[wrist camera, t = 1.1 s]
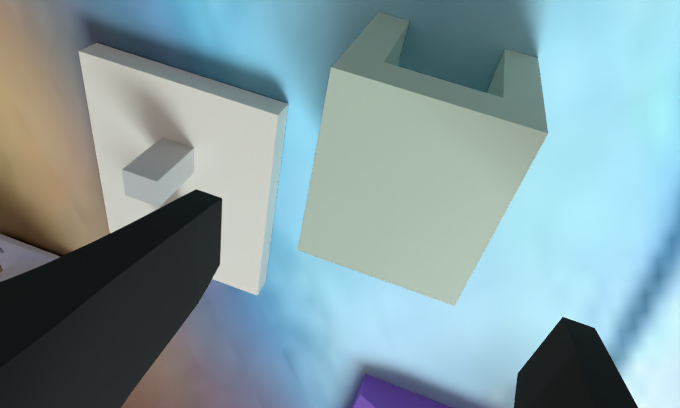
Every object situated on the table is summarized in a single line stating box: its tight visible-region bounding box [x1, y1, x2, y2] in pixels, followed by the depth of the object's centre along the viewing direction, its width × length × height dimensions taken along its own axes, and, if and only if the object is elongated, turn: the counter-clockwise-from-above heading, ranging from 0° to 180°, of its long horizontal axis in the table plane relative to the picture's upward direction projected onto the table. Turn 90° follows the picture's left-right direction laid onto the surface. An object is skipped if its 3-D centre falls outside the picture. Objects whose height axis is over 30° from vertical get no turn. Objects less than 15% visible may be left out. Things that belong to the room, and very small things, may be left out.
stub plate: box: [79, 43, 289, 295], centre depth 19 cm, size 10×8×4 cm
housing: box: [298, 12, 548, 306], centre depth 14 cm, size 6×5×5 cm
